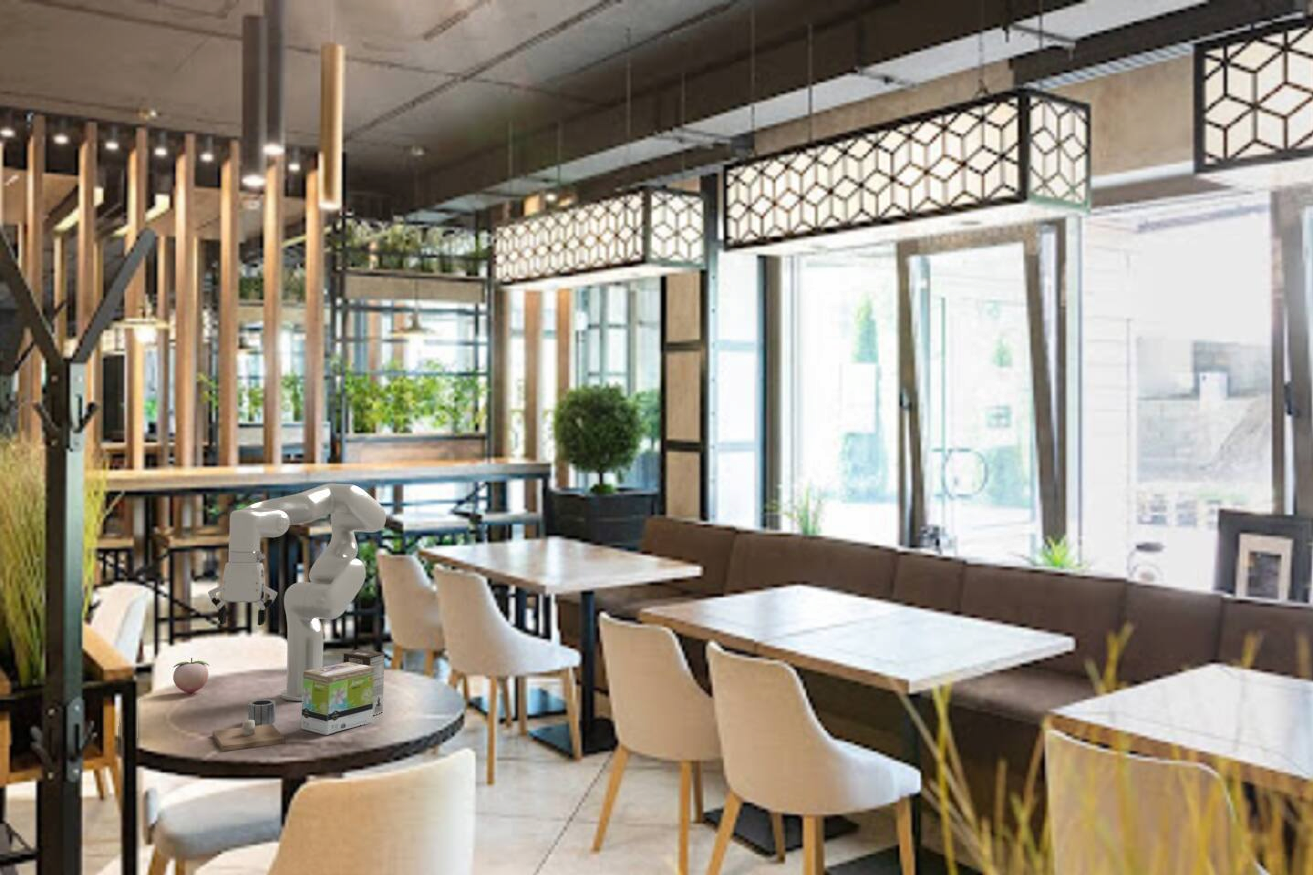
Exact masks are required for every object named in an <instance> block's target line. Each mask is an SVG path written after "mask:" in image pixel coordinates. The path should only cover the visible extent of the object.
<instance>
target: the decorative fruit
mask: <svg viewBox="0 0 1313 875" xmlns="http://www.w3.org/2000/svg"><path fill="white" fill-rule="evenodd" d="M206 665H207V666H208V667H210V664H209V663H207V662H206V661H203V660H194V661H193V657H191V658H190V662H189V661H181V662H179V663H176V664H175V665H174V666H173V667H172V669H173V668H175V669H174V672H173V674H172V675H173V676H172V679H173V683H174V685H175V686H176V688H178V689H179V690H181V691H183V692H185V693H188V694H189V695H190V694H193V693H196V692H197V691H199V690H200V689H202V688H203V687H205V685H206V684H207V682H208V679H209V670H208V667H207V666H206Z"/></svg>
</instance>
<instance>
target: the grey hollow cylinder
mask: <svg viewBox="0 0 1313 875" xmlns="http://www.w3.org/2000/svg"><path fill="white" fill-rule="evenodd" d="M276 703H277V702H276V701H275V700H273V699H267V698H266V699H265V698H264V699H255V700H252V701H249V702H248V705H247V720H254V721H255V726H258V725H266V724H273V725H274V723H275V722H276V718H277V717H276V715H277V714H276V712H277V711H276V710H277V709H276V707H277V706H276V705H277V704H276Z"/></svg>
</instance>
